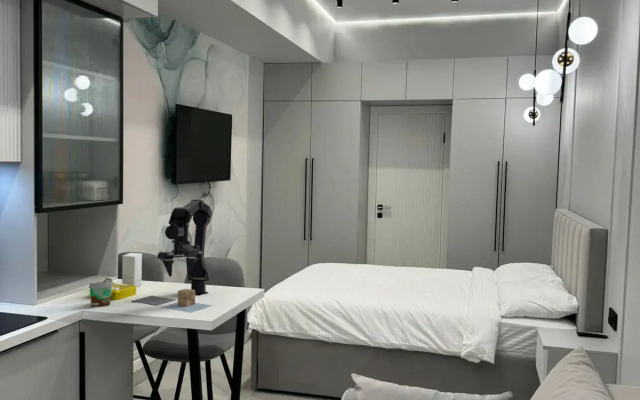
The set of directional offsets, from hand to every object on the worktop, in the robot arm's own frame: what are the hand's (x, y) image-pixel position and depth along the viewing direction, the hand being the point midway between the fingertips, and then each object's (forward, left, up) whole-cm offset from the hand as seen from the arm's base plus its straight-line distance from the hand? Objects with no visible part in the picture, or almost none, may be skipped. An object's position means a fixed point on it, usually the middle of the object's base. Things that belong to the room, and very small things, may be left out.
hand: (179, 275), depth 244 cm
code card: (0, +4, -13) cm, 13 cm away
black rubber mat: (0, -14, -13) cm, 19 cm away
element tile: (+2, -36, -13) cm, 38 cm away
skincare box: (-16, -43, -13) cm, 48 cm away
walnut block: (-2, +2, -12) cm, 13 cm away
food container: (+16, -26, -13) cm, 33 cm away
